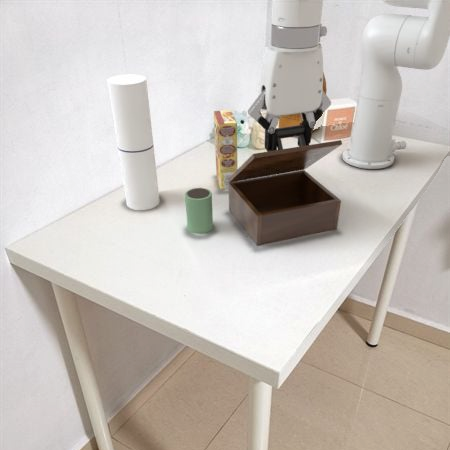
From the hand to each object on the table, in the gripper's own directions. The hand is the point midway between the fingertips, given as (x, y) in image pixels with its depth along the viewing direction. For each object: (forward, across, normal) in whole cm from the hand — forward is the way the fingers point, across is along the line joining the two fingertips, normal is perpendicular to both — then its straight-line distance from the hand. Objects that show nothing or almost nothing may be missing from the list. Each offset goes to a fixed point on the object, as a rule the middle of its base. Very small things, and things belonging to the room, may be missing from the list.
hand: (287, 149), depth 85 cm
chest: (+15, 0, 0) cm, 15 cm away
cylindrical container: (+16, +24, -19) cm, 35 cm away
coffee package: (+16, -28, -47) cm, 57 cm away
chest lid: (+3, 0, -2) cm, 4 cm away
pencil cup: (+15, +16, -3) cm, 22 cm away
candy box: (+16, +4, -22) cm, 27 cm away
